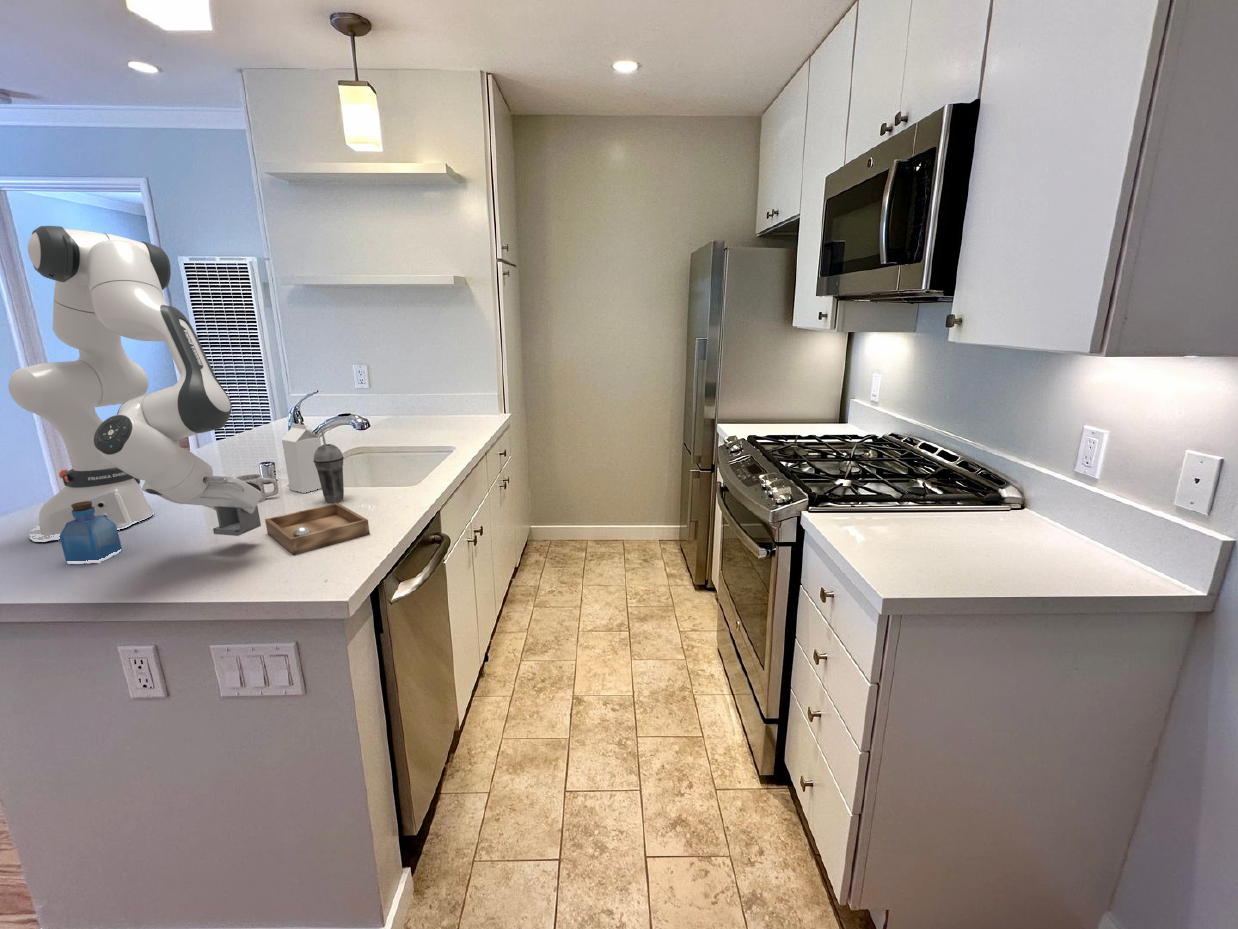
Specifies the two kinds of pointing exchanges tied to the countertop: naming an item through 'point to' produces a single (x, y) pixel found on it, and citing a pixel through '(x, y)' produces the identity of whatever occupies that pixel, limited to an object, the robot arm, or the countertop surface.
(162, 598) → the countertop surface
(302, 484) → the milk carton
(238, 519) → the grey ball display stand
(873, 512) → the countertop surface
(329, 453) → the beverage cup
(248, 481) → the mug
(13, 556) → the countertop surface
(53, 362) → the robot arm
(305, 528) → the steel ball
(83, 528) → the perfume bottle
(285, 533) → the walnut tray
